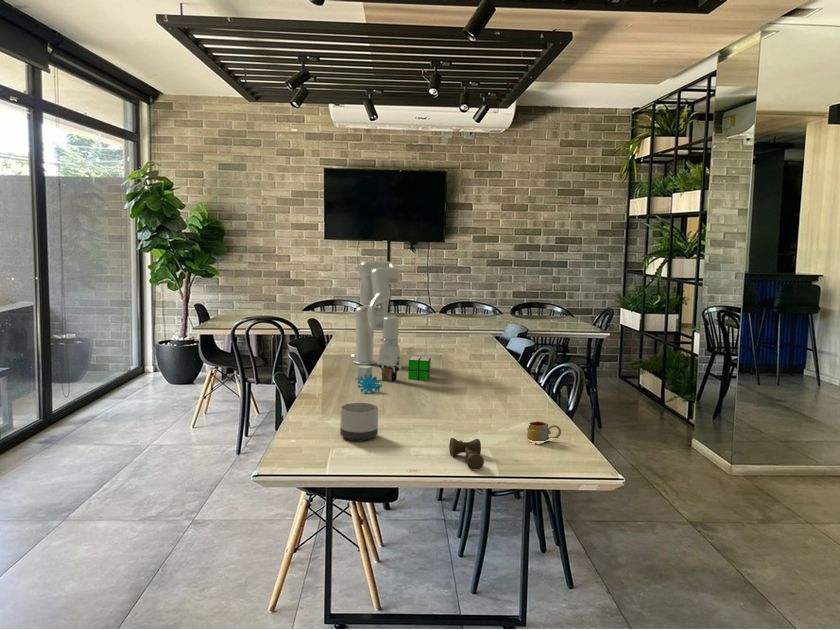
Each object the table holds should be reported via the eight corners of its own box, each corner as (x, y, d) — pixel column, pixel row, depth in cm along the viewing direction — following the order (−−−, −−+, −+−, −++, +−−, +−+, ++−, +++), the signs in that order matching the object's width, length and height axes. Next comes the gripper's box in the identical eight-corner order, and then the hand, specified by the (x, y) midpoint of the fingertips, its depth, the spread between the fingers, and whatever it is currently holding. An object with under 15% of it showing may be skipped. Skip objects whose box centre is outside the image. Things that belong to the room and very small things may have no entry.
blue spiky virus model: (354, 389, 281) (360, 371, 287) (355, 396, 286) (360, 378, 292) (379, 394, 280) (384, 376, 286) (379, 401, 285) (384, 383, 291)
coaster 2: (377, 381, 308) (377, 380, 308) (387, 378, 315) (387, 377, 314) (391, 383, 304) (391, 382, 304) (400, 380, 310) (400, 380, 310)
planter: (381, 441, 216) (382, 411, 214) (343, 443, 212) (344, 413, 211) (373, 430, 228) (373, 402, 227) (337, 432, 224) (338, 403, 223)
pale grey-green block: (357, 379, 310) (357, 366, 309) (363, 377, 314) (363, 365, 313) (365, 380, 307) (366, 368, 306) (371, 378, 311) (372, 366, 311)
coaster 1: (353, 379, 309) (353, 379, 309) (363, 377, 316) (363, 376, 316) (366, 382, 305) (366, 381, 305) (376, 379, 312) (376, 378, 312)
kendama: (459, 472, 190) (445, 449, 210) (490, 472, 192) (473, 449, 212) (461, 453, 190) (446, 431, 209) (492, 453, 191) (475, 432, 211)
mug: (529, 445, 218) (530, 426, 217) (524, 438, 224) (525, 420, 223) (563, 445, 219) (565, 426, 218) (557, 438, 226) (558, 420, 225)
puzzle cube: (430, 376, 322) (430, 357, 321) (428, 381, 312) (429, 360, 311) (410, 375, 323) (411, 356, 322) (408, 379, 313) (408, 359, 312)
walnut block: (381, 379, 308) (382, 367, 308) (387, 378, 313) (388, 366, 312) (390, 381, 306) (390, 369, 305) (396, 379, 310) (396, 367, 309)
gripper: (371, 341, 308) (370, 377, 310) (400, 345, 299) (399, 383, 302) (380, 339, 315) (379, 375, 317) (409, 343, 306) (408, 380, 308)
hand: (389, 378), depth 309 cm, fingers closed on walnut block, 5 cm apart
